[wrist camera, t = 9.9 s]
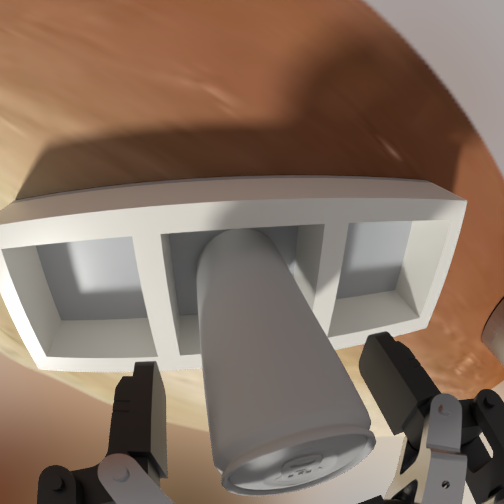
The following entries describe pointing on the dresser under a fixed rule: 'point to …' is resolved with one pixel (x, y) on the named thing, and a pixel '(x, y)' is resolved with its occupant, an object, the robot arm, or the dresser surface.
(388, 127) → the dresser surface
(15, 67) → the dresser surface
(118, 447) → the robot arm
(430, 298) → the can caddy
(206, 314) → the beverage can
